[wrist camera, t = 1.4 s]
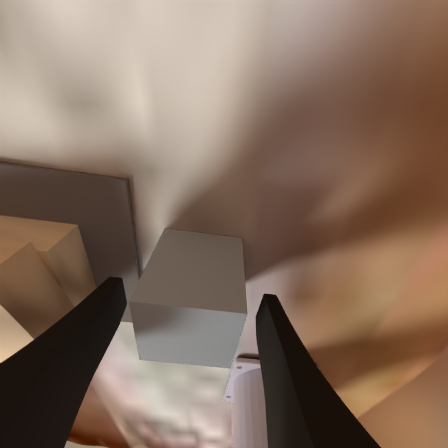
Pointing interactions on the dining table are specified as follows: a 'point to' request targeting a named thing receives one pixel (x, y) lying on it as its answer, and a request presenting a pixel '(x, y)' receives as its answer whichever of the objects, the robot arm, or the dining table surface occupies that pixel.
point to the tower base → (55, 252)
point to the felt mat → (79, 215)
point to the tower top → (26, 297)
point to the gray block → (191, 300)
